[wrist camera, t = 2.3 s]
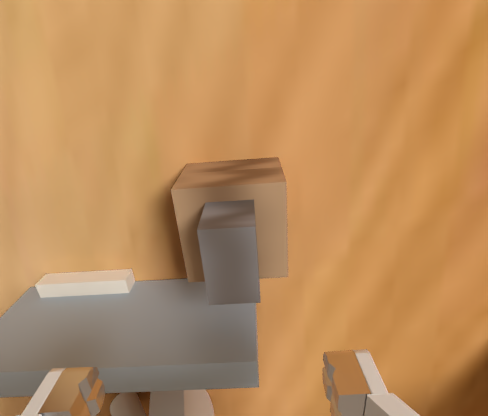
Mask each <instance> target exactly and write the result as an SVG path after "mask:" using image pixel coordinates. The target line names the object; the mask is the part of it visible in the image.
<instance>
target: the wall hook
mask: <svg viewBox="0 0 488 416" xmlns="http://www.w3.org/2000/svg"><path fill="white" fill-rule="evenodd" d="M110 413H111V416H146V413H145V411H144V409H143V407H142V404H141V402H140V400H139V398H138V395H137V394H136V393H135V392H126V393H120V394H119V395H117V396H116V397H115V398H114V400H113V401H112V403H111V405H110ZM149 416H214V409H213V405H212V402H211V399H210V396H209V394H208V393H207V391H206V389H202V390H176V391H151V392H150V405H149Z"/></svg>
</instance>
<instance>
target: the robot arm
mask: <svg viewBox="0 0 488 416" xmlns="http://www.w3.org/2000/svg"><path fill="white" fill-rule="evenodd" d="M323 361H324V365H325V367H324V368H323V384H324V389H325V393H326V397H327V399H328V400H329V401H330V402H331V404H330V412H331V416H420V415H419V414H418V413H416V412H415V411H414V410H413V409H412V408H410V407H409V406H408V405H407V404H406V403H404V402H403V401H402V400H401V399H400V398H398V397H397V396H396V395H395V394H394V393H388V391H387V389H386V387H385V384H384V382H383V380H382V378H381V376H380V374H379V372H378V369H377V367H376V365H375V363H374V361H373V359H372V357H371V354H370V352H369V351H368V350H367V349H366V350H346V351H332V352H324V354H323ZM98 376H99V371H98V369H97V367H75V368H53V369H52V370H51V371H49V372H48V373H47V375H46V377H45V378H44V380H43V381H42V383H41V384H40V386H39V387H38V389H37V391H36V392H35V394H34V395H33V397H32V398H31V400H30V402H29V403H28V405H27V406H26V408H25V409H24V411H23V413H22V414H21V415H16V416H96V415H97V414H98V413H99V412H100V410H101V408H102V405H103V403H104V397H105V386H104V383H103V381H101V380H100V379H98Z"/></svg>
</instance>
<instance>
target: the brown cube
mask: <svg viewBox="0 0 488 416" xmlns="http://www.w3.org/2000/svg"><path fill="white" fill-rule="evenodd" d="M171 194H172V199H173V204H174V210H175V215H176V220H177V226H178V231H179V236H180V241H181V247H182V252H183V257H184V263H185V268H186V273H187V278H188V282H205V284H206V290H207V296H208V302H209V305H224V304H243V303H260V284H259V279H262V278H280V277H288V237H287V188H286V179H285V176H284V173H283V170H282V167H281V164H280V161H279V158H278V157H275V158H261V159H247V160H233V161H219V162H205V163H191V164H187V165H186V166H185V168H184V169H183V171H182V173H181V174H180V176H179V177H178V179H177V181H176V182H175V184H174V185H173V187H172V188H171Z"/></svg>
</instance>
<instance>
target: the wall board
mask: <svg viewBox="0 0 488 416" xmlns="http://www.w3.org/2000/svg"><path fill="white" fill-rule="evenodd" d="M35 286H36V287H30V288H29V289H28V290H27V291H26V292H25V293H24V294H23V295H22V296H21V297H20V298H19V299H18V300H17V301H16V302H15V303H14V304H13V305H12V306H11V307H10V308H9V309H8V310H7V311H6V312H5V313H4V314H3V316H2V317H1V318H0V397H24V396H33V395H34V394H35V392H36V391H37V389H38V387H39V386H40V384H41V383H42V381H43V380H44V378H45V377H46V375H47V373H48V372H49V371H51V370H52V369H53V368H75V367H97V369H98V371H99V376H98V379H100V380H101V381H103V383H104V386H105V393H126V392H151V391H176V390H202V389H227V388H252V387H259V373H258V343H257V314H256V303H243V304H224V305H209V302H208V296H207V290H206V284H205V282H188V278H187V279H169V280H151V281H135V279H134V275H133V272H132V269H121V270H104V271H86V272H69V273H51V274H45V275H44V276H43V277H42V278H41V279H40V280H39V281H38V282H37V283H36V285H35Z"/></svg>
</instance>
